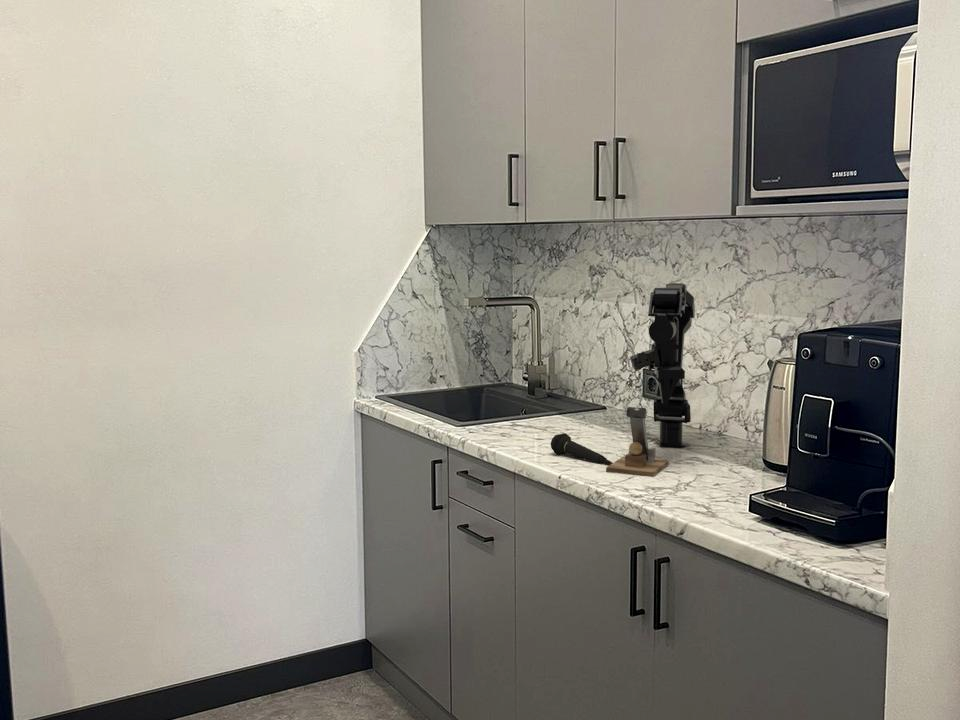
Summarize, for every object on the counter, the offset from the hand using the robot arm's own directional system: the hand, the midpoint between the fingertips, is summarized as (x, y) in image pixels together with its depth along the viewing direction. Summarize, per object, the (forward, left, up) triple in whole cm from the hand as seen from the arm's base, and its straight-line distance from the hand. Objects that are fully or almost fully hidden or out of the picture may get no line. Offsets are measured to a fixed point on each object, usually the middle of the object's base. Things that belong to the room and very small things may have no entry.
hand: (664, 403), depth 236 cm
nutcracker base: (+13, -8, -13) cm, 20 cm away
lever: (+10, -6, -11) cm, 16 cm away
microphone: (+4, -21, -14) cm, 25 cm away
